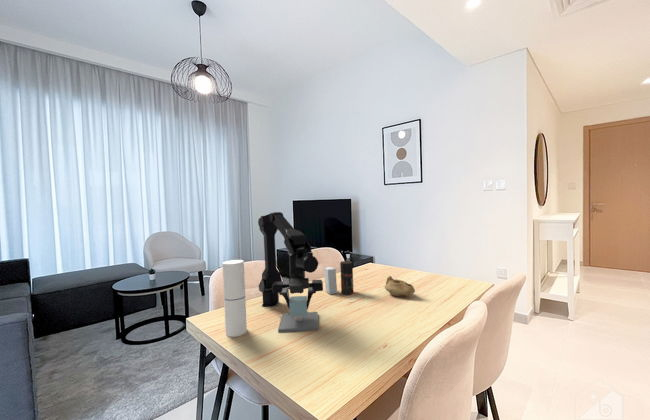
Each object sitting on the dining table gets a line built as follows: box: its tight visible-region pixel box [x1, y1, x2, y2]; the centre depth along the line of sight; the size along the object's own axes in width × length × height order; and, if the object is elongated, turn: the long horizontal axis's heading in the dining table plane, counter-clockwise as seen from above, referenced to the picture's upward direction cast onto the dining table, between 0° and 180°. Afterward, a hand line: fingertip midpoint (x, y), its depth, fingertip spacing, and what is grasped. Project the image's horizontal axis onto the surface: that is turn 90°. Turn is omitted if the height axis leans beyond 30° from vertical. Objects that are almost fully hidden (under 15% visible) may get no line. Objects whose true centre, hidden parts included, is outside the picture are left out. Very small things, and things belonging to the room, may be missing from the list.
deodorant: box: [340, 260, 354, 296], centre depth 140 cm, size 6×6×15 cm
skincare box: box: [323, 266, 338, 295], centre depth 141 cm, size 6×4×12 cm
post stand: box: [277, 311, 319, 333], centre depth 107 cm, size 14×14×5 cm
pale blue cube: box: [288, 295, 308, 316], centre depth 107 cm, size 6×6×5 cm
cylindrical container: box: [221, 259, 248, 338], centre depth 101 cm, size 7×7×25 cm
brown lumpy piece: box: [384, 275, 416, 297], centre depth 134 cm, size 11×15×8 cm
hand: (298, 308), depth 107 cm, fingers closed on pale blue cube, 6 cm apart
